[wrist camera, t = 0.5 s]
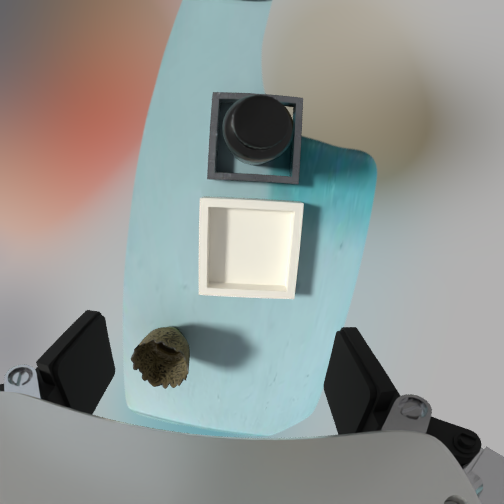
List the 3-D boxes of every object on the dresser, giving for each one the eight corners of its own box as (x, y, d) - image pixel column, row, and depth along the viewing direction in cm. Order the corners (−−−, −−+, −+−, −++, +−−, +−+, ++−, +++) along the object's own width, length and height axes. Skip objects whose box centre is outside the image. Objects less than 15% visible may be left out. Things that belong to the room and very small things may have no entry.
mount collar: (214, 96, 32) (212, 92, 30) (300, 101, 32) (302, 98, 30) (209, 178, 35) (207, 179, 33) (295, 183, 35) (298, 184, 33)
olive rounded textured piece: (206, 346, 41) (199, 380, 33) (166, 361, 41) (153, 394, 34) (179, 305, 39) (165, 334, 31) (139, 323, 40) (120, 353, 32)
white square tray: (203, 196, 35) (199, 197, 33) (299, 201, 36) (303, 203, 33) (201, 287, 38) (198, 294, 36) (291, 291, 39) (294, 299, 36)
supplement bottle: (237, 173, 35) (233, 171, 23) (219, 122, 33) (206, 97, 21) (290, 155, 34) (312, 146, 23) (272, 105, 32) (284, 73, 21)
